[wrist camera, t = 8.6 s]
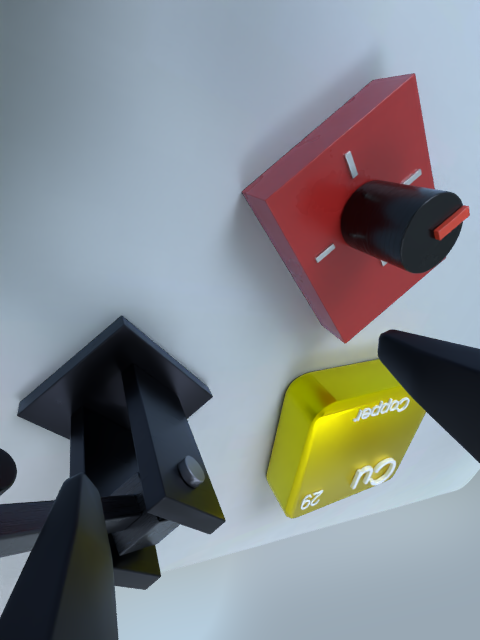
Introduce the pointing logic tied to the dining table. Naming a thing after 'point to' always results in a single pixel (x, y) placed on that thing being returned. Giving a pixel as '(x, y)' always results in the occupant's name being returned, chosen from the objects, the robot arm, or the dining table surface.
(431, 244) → the knob
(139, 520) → the black lever handle
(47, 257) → the dining table surface
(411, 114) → the dial panel
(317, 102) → the dining table surface
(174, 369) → the lever bracket
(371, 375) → the element tile
